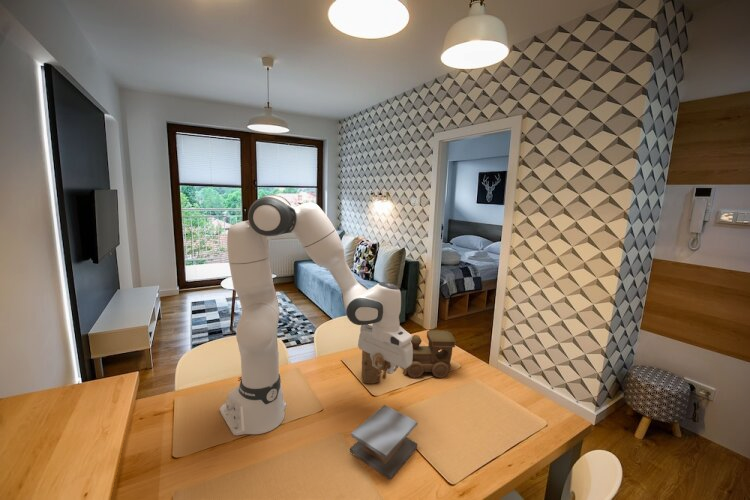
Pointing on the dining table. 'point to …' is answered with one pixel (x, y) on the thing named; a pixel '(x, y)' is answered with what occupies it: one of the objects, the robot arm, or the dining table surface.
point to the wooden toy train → (432, 354)
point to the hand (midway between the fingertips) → (382, 369)
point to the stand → (384, 441)
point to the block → (369, 369)
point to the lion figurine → (383, 365)
